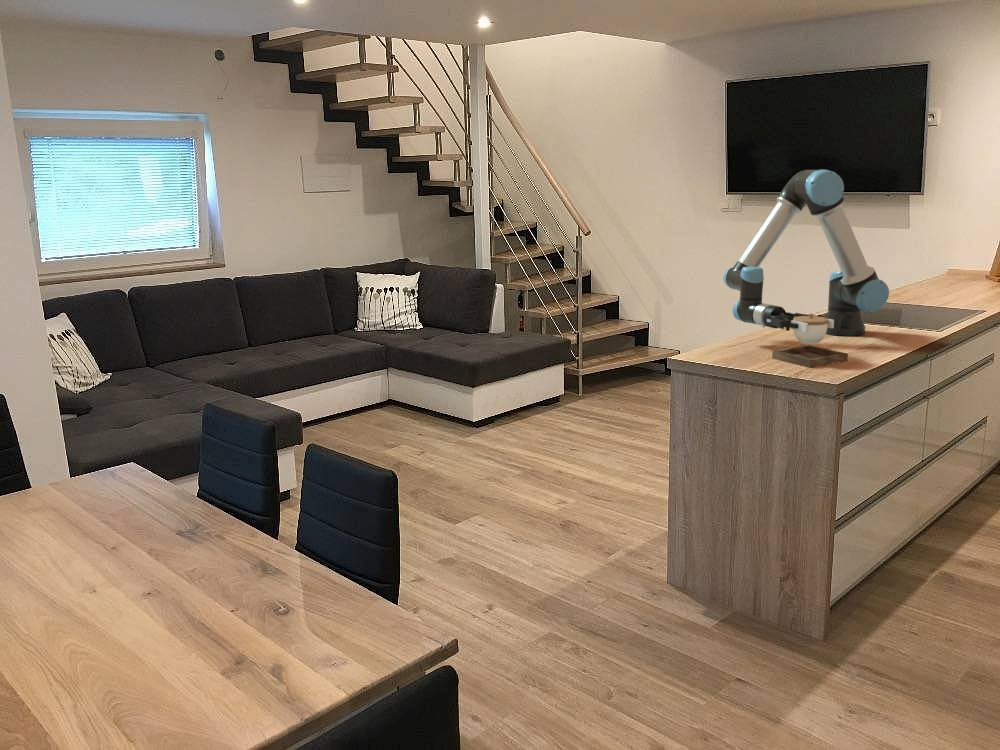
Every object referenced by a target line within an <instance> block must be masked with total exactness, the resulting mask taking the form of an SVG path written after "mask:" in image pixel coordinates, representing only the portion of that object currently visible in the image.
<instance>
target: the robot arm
mask: <svg viewBox="0 0 1000 750" xmlns="http://www.w3.org/2000/svg"><path fill="white" fill-rule="evenodd" d="M843 192H845V184H844V181H843V179H842V177H841V176H840V175H839V174H837V173H836V172H835V171H832V170H829V169H824V168H823V169H805V170H801V171H799V172H797V173H796V174H794V175H793V176H792V177H791V179H789V181H788V182H787V183H786V185H785V186H784V187H783V188H782V190H781V191H780V193H779V195H778V196H777V197H776V204H775V206H773V208H772V210H771V211H770V212H769V215H768V216H767V217H766V219H765V220H764V222H763V223H762V224H761V226H760V228H758V231H756V233H755V234H754V236H753V238H752V239H751V241H750V242H749V244H748V245H747V247H746V248H745V250H744V251H743V252H742V254H741V256H740V257H739V259H738V260H737V261H736V263H735V264H734V266H732V267H728V269H726V271H725V272H724V274H723V276H722V277H723V278H722V279H723V282H724V284H725V285H726V286H727V287H728V288H730V289H732V290H735V291H739V292H740V293H739V300H737V301H736V302H735V303H734V305H733V307H732V315H733V317H734V318H735V319H736V320H738V321H740V322H744V323H747V324H754V325H758V326H761V327H762V328H765V327H767V328H771V329H781V330H784V329H785V331H787V332H789V331H790V330H793V329H794V330H799V331H803V332H808V323H804V322H799V321H794V320H793V318H794V317H798V316H809V314H806V313H799V312H795V313H792V312H787V311H786V310H785V309H784V307H782V306H780V305H773V304H769V303H763V289H764V280H765V279H764V278H765V277H764V269H763V268H762V267H760V265H761V264H762V263H763V261H764V260H765V259H766V257H767V256H768V255H769V253H770V251H771V249H772V248H773V247H774V246H775V244H776V242H777V241H778V240H779V238H780V237H781V235H782V234H783V233H784V231H785V230H786V228H787V227H788V225H789V224H790V223H791V221H792V219H793V218H794V216H796V214H801V211H802V210H804V208H805V207H806V206H807V208H808V211H809V212H810V215H811V216H813V217H816V218H817V220H818V221H819V224H820V226H821V227H822V230H823V233H824V235H825V238H826V239H827V242H828V244H829V246H830V249H831V251H832V253H833V256H834V257H835V260H836V262H837V265H838V266H839V268H840V271H833V272H831V273H830V275H829V276H830V277H829V281H828V283H829V284H828V285H829V287H828V303H827V313H826V315H825V316H824V318H827V319H828V327H827V332H826V335H832V336H840V335H842V337H844V336H845V337H846V336H847V337H848V336H849V337H853V336H862V335H864V334H866V325H865V323H864V322H865V321H864V318H863V313H862V312H869V313H873V312H877V311H879V310H881V309H882V308H883V307H884V306H885V304H886V303H887V301H888V299H889V297H890V288H889V286H888V285H887V283H886V282H885V281H884V280H882V279H879V277H878V274H877V271H876V269H875V268H874V267H873V266H871V265H868V263H867V260H866V258H865V256H864V254H863V251H862V249H861V247H860V244H859V242H858V240H857V237H856V235H855V233H854V231H853V228H852V226H851V223H850V221H849V219H848V217H847V214H846V212H845V210H844V208H843V205H844V203H845V198H844V196H843ZM813 316H817V317H823V316H822V315H821V314H818V315H815V314H813ZM794 330H793V331H794ZM843 335H844V336H843Z"/></svg>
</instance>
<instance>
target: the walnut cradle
mask: <svg viewBox="0 0 1000 750" xmlns="http://www.w3.org/2000/svg"><path fill="white" fill-rule="evenodd" d="M848 357H849V353H846V352H844V351H843V352H842V351H837V350H833V349H830V348H824V347H820V346H815V345H812V344H806V345H802V346H795V347H788V348H784V349H783V348H782V349H776V350H772V359H774V360H778V361H781V362H786V363H790V364H792V365H798V366H802V367H805V368H811V367H812V368H817V367H822V365H823V366H828V365H827V364H829V365H833V364H832V363H835V364H838V363H837V362H840V363H844V362H843V361H846V362H848V360H849V359H848ZM816 366H817V367H816Z"/></svg>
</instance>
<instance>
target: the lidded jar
mask: <svg viewBox="0 0 1000 750" xmlns="http://www.w3.org/2000/svg"><path fill="white" fill-rule="evenodd" d="M808 315H809V316H798V317H794V318H793V320H794V321H799V322H804V323H808V332H803V331H799V330H794V329H792V330H793V334H794V337H795V338H796V339H797V340H798V341H799V343H800V344H804V345H818V344H820V342H821V341H822V340H823V339H824V338H825V336H826V335H827V334H826V332H827V327H828V319H827V318H825V316H824V317H817V316H818V315H816V316H813V315H814V314H813V313H809V314H808Z"/></svg>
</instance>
